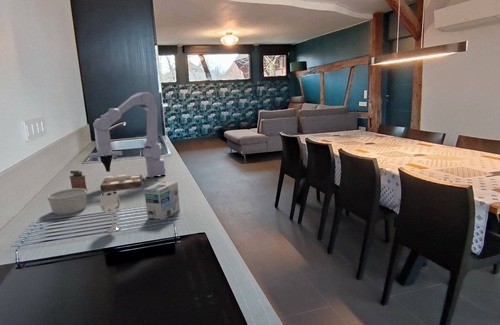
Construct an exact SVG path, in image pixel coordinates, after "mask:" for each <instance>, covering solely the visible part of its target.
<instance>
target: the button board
mask: <svg viewBox="0 0 500 325" xmlns="http://www.w3.org/2000/svg"><path fill="white" fill-rule="evenodd" d="M139 175H140V181H137V182H128V183H120V184H111V185H102V184H103V183H107V182H105V181H104V180H103V181H102V183H101V184H100V186H99V187H100V192H110V191H116V190H125V189H133V188H132V187H134V188H141V187H140V186H142V187H143V181H142V180H144V179H143V174H138V175H135V176H139ZM131 176H132V175H129V176H128V175H127V180H131ZM114 180H115V181H114V182H117V181H118V177H114ZM132 180H134V179H132ZM123 181H126V180H123Z"/></svg>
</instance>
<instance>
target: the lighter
mask: <svg viewBox="0 0 500 325" xmlns="http://www.w3.org/2000/svg"><path fill="white" fill-rule="evenodd" d="M69 180H70V185H71V189H75V188H82V189H86V191H87V192H88V189H87V182H86V175H85V174H84V175H83V172H82V171H80V170H70V175H69Z"/></svg>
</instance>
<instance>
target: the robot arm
mask: <svg viewBox="0 0 500 325" xmlns="http://www.w3.org/2000/svg"><path fill="white" fill-rule="evenodd" d="M133 106H139V107H142V109H143V110H144V111H146V140H145V141H146V142H145V143H144V145H143V146H144V147H143V149H142V156H143V157H144V158H145V164H146V172H147V174H146V178H147V177H150V178H155V177H154V176H158V175H165V176H166V168H165V162H164V161H165V160H164V158H161V157H162V154H163V153H162V149H161V145H160V143H159V142H158V119H159V118H158V112H159V110H158V105H157V103H156V101H155V96H154V95H153V94H152V93H151V92H149V91H144V92H136V93H134V94H133V95H131V96H130V97H129V98H128V99H126V100H125V101H124V102H123V103H122V104H120V105H119V106H118V107H117V108H115V107H112V108H109V109H108V111H107V112H106V113H104V114H101V115H100V118H96V119H95V120H94V122H93V124H92V126H93V129H95V133H96V141H97V146H98V152H92V153H89V154H88V158H89V159H95V158H99V160H100V162H101V163H102V164H103V166H104V168H105V171H106V172H107V173H108V172H110V171H111V164H112V160H113V157H116V156H123V151H122V150H117V151H116V150H115V151H113V150H112V141H111V136H110V135H111V133H110V129H111V127H112V125H114V124H115V123H116V122H118V120H120V119H122V114H124V113H125V112H126V111H129V110H130V109H131V108H132V107H133Z"/></svg>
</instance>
